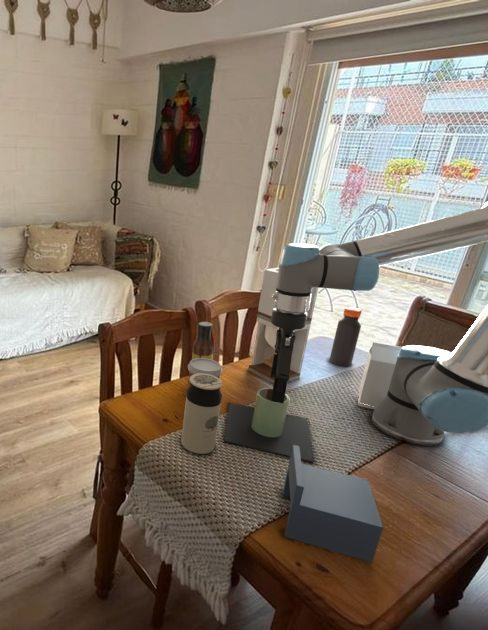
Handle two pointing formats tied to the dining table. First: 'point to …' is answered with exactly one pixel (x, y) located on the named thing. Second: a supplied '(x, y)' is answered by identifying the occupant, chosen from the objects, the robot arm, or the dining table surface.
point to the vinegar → (346, 337)
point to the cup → (269, 414)
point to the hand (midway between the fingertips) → (276, 389)
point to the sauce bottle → (203, 342)
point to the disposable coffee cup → (204, 367)
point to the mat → (282, 445)
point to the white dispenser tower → (268, 332)
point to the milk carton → (377, 374)
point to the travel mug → (201, 413)
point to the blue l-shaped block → (331, 510)
